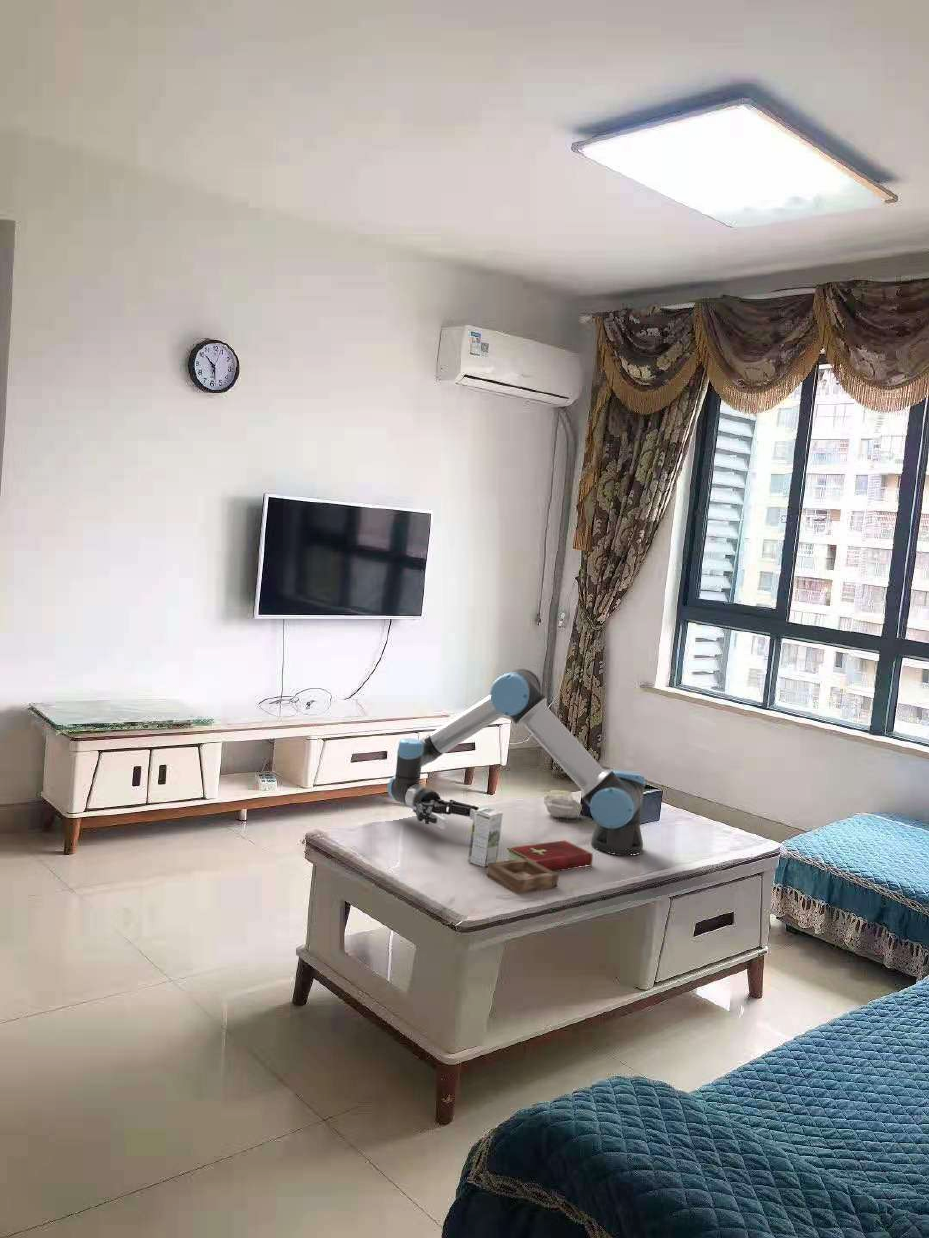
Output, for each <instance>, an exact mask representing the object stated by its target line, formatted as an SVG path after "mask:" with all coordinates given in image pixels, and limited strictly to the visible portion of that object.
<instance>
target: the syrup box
mask: <svg viewBox="0 0 929 1238" xmlns="http://www.w3.org/2000/svg"><path fill="white" fill-rule="evenodd" d="M502 821H503V812H502V811H500V810H498V809H495V808H491V807H486V806H485V807H483V808H480V809H479V808H478V810H476V811H474V817H473V820H472V827H471V834H470V840H469V841H470V843H469V851H468V859H467V861H468V863H471V864H474V865H476V866H480V867H483V868H488V863H494V862H498V861H497V860H498V853H499V852H498V851H499V846H500V845H499V844H500V836H501V831H502V830H501V829H502Z"/></svg>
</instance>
